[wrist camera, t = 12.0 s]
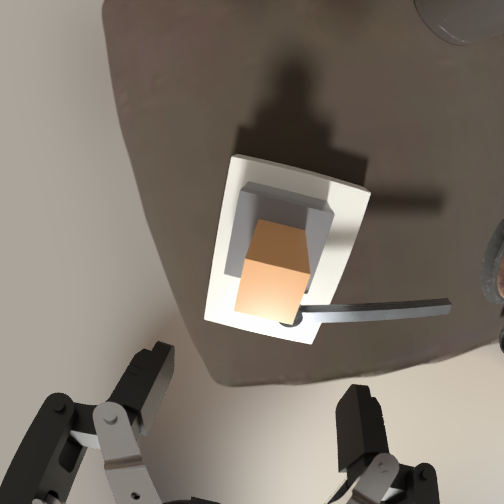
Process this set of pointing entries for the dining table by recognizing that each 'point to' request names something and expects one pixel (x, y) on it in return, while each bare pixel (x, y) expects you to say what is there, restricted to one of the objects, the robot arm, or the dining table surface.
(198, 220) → the dining table surface
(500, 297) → the tankard
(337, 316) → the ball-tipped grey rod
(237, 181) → the socket block
